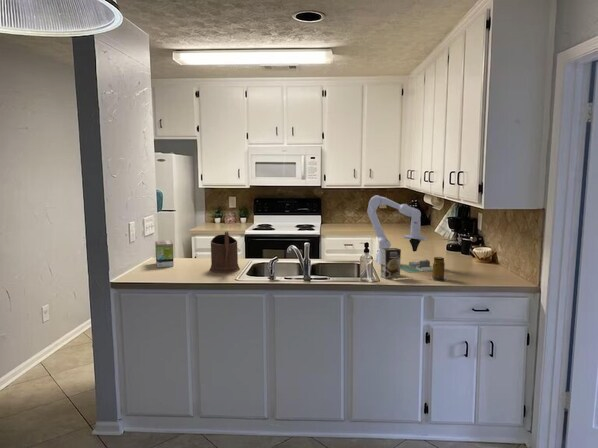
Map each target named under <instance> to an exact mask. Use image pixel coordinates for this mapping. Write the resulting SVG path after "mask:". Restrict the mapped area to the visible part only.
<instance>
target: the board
mask: <svg viewBox="0 0 598 448" xmlns="http://www.w3.org/2000/svg"><path fill="white" fill-rule="evenodd" d="M400 271H404V272H406V273H409V274H414V273H423V272H424V273H427V272H433V265H430V267H422V268H421V269H420V265H417V266H416V268H415V267H412V266H410V265H409V264H408V265H400Z"/></svg>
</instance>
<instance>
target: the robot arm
mask: <svg viewBox="0 0 598 448" xmlns="http://www.w3.org/2000/svg"><path fill="white" fill-rule="evenodd" d="M384 205H385V206H386V205H387V206H389V207H391V208H394V209H396V210H398V212H399V213H400V214H402V215H405V216H406V217H410V218H411V219H410V220H411V221H410V231H409V232H410V234H409V235H408V234H405V235H403V239H409V241H408V242H409V243H410V245H411V249H412V252H414V253H415V252H417V250H418V247H419V245H420V243H421V241H423V242H426V241H428V239H427V237H426V236H421V216H422V213H421V211H420V210H419V208H415V207H413V206H409V205H408V203H402V204H399V203H398V202H395V201H394V200H391V199H390V198H387V197H384V196H380V195H378V194H377V195H376V194H375V195H373V196H372V197H371V198H370V199H369V201H368V206H367V210H366V211H367V215H368V217H369V220H370V222H371V225H372V227H373V230H374V232H375V235H376V237H377V241H378V244H379V245H378V248H379V249H378V251H377V252H376V257H375V259H376V260H375V262H376V264H378V265H380V266H381V250H382V248H391V242H390V241H389V240H388V238H387V236H386V235H385V232H384V229H383V227H382V224H381V222H380V220H379V217H378V214H377V209H378V208H379V206H384Z"/></svg>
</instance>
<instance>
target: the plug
mask: <svg viewBox="0 0 598 448" xmlns="http://www.w3.org/2000/svg"><path fill="white" fill-rule="evenodd" d="M419 261H420V269H421V268H422V267H430V266H431V262H430V260H429V259H423V260H419Z"/></svg>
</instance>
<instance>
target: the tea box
mask: <svg viewBox="0 0 598 448" xmlns="http://www.w3.org/2000/svg"><path fill="white" fill-rule="evenodd" d="M154 243H155V245H154V246H155V264H156V266H157V268H171V267H174V265H175V264H174V263H175V262H174V243H173V241H172V240H157V241H154Z"/></svg>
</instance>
